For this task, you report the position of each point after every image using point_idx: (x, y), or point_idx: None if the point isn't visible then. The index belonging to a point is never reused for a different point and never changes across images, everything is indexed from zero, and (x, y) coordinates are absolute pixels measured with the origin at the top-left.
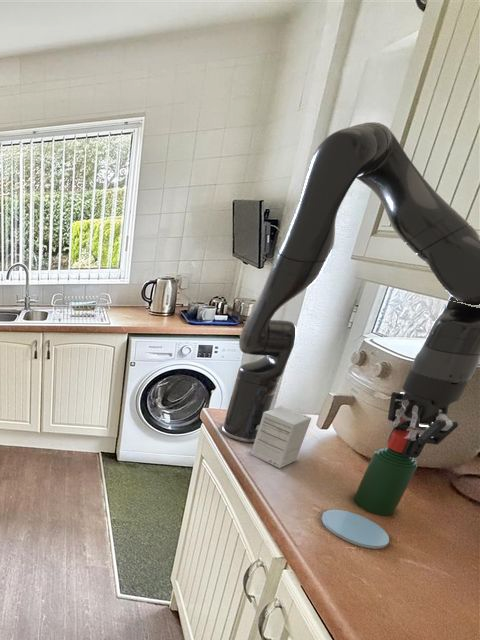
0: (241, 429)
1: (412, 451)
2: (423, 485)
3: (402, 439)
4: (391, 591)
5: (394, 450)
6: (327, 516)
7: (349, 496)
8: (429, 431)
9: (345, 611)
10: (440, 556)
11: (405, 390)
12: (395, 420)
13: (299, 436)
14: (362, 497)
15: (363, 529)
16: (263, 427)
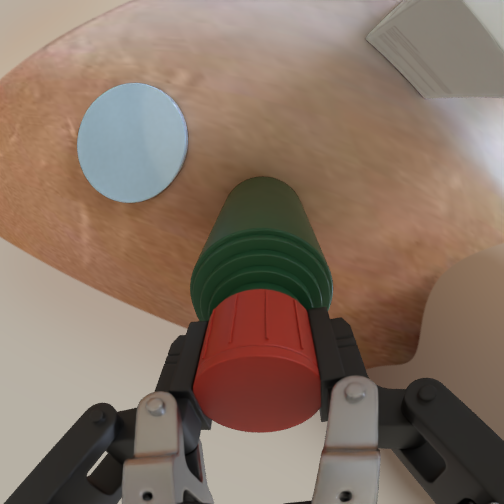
0: None
1: (169, 357)
2: (383, 336)
3: (204, 364)
4: (12, 170)
5: (222, 302)
6: (139, 92)
7: (285, 172)
8: (49, 471)
9: None
10: (128, 272)
11: None
12: (371, 416)
13: (454, 58)
14: (243, 186)
15: (123, 158)
16: None
